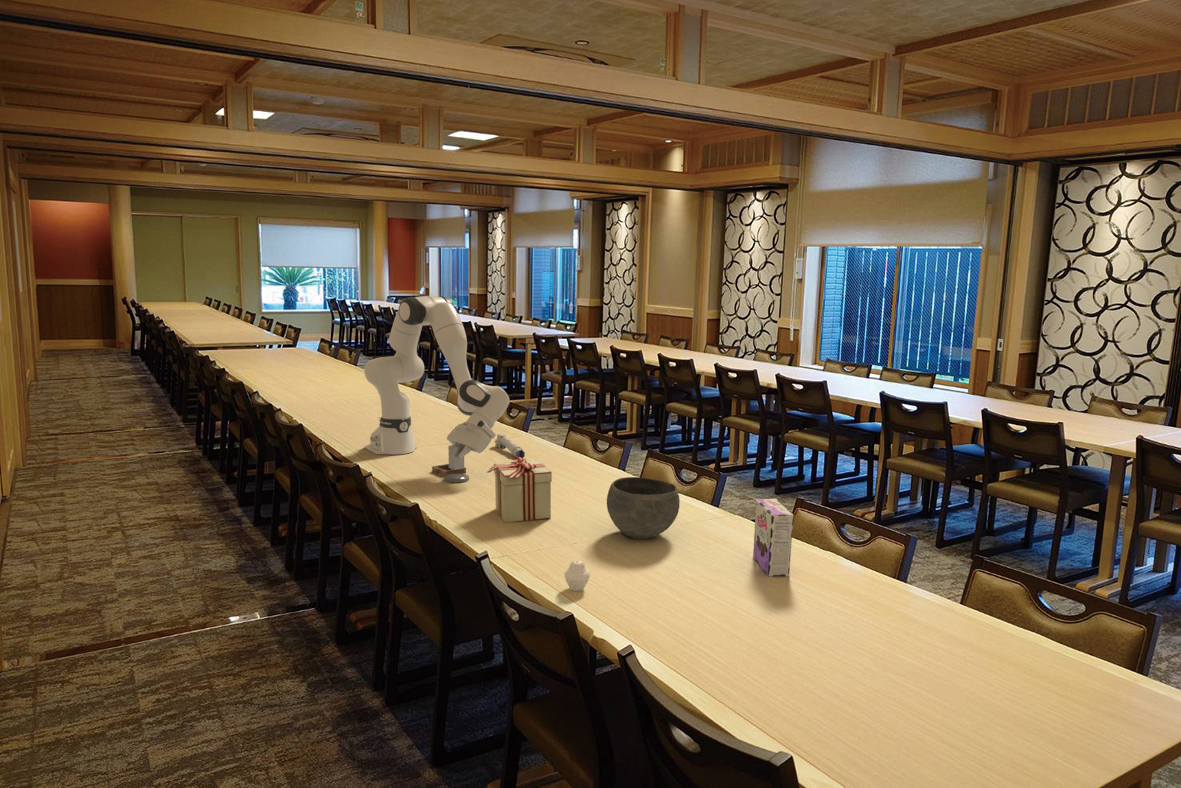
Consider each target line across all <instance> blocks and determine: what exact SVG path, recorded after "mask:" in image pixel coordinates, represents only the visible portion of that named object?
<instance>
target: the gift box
mask: <svg viewBox="0 0 1181 788" xmlns="http://www.w3.org/2000/svg"><path fill="white" fill-rule="evenodd" d="M513 459H514V460H515V459H516V460H517V461H511V462H510V461H509V462H501V463H500V462H499V463H494V464H493V465H492V466H491V467H490V468H489V469H488V470H487V471H486V473H487V474H488V473H491V472H493V474H494V477H495V478H494V479H495V480H494V482H495V483H494V484H495V485H494V487H495V511H497V513H498V515H499V516H500V517H501V519H502V520H503V523H514V522H526V521H534V520H535V521H536V520H537V521H538V520H544V519H546V520H547V519H551V517H552V515H551V514H552V509H551V508H552V507H551V506H552V505H551V503H552V502H551V499H552V498H551V496H552V495H551V491H552V490H551V489H552V488H551V486H552V485H551V484H552V483H551V482H553V480H552V479H553V478H552V476H553V475H552V474H553V473H552V471H551V470H550V469H549V468H548V467H547V466H546V465H545V464H544V463H542V461H540V460H539V459H538V460H527V459H526V458H520V457H517V456H513Z"/></svg>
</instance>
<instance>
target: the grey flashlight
mask: <svg viewBox="0 0 1181 788" xmlns="http://www.w3.org/2000/svg"><path fill="white" fill-rule="evenodd" d="M496 436H497V437H496V439H495V438H494V443H495V449H500V448H503V449H507V450H508V451H509V452H510V454H511V455H512V456H513V457H514V456H517V457H520V458H522V459H525V456H526V452H525V451H524V450H523V448H522V447H521V446H518V445H517V444H515V443H514V442H513V441H512V440H510V439H509V438H508V437H507V435H506V433H504V432H498V433H497V434H496Z"/></svg>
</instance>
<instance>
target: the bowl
mask: <svg viewBox="0 0 1181 788" xmlns="http://www.w3.org/2000/svg"><path fill="white" fill-rule="evenodd" d="M609 486H610V487H609V489H608V492H607V496H606V509H607V513H608V515H609V517H610V519H611V521H612V523H613V524H614V526H615V527H616V528H617V529H618V530H619V532H621V533H622V534H623V535H625V536H626V537H629V538H632V539H640V540H641V539H651V538H653V537H657V536H658V535H660V534H662V533H664V532H665V531H667V530H668V529H669V528H670V526H672V524H673V523H674V522H675V520H676V519H677V517H678V515H679V511H680V495H679V490H678V488H677V485H675V484H673V483H670V482H668V481H664V480H662V479H661V480H660V479H656V478H648V477H640V476H628V477H621V478H617V479H616V480H614V481H613V482H612V483H611V484H610V485H609Z"/></svg>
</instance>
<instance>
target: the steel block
mask: <svg viewBox="0 0 1181 788" xmlns="http://www.w3.org/2000/svg"><path fill="white" fill-rule="evenodd" d="M447 447H448V464H449V468H451V469H450V470H452V469H453V470H457V469H463V468H464V467H465V456H464V457H463V458H462V459H460V458H458V457H457V454H458V453H459V452H461V451H462V450H464V446H462V445H459V444H457V445H452V444H451V445H448V446H447Z"/></svg>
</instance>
